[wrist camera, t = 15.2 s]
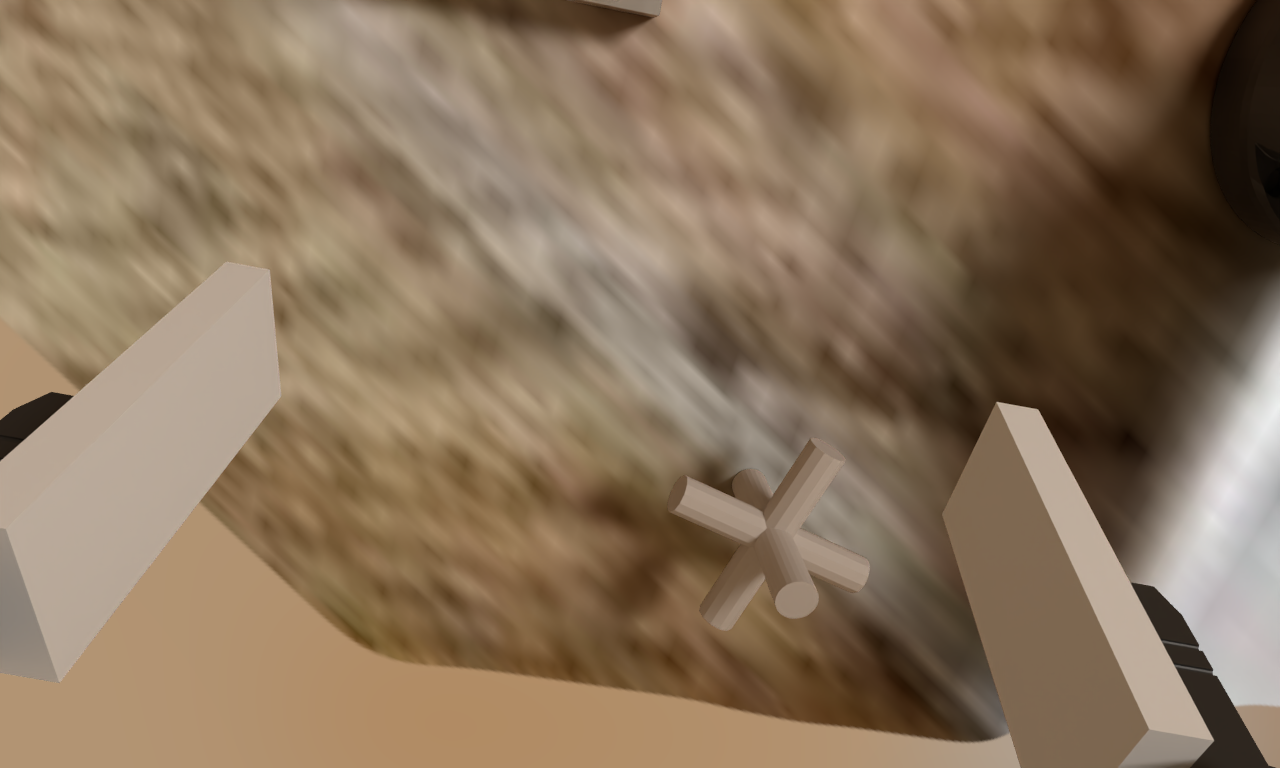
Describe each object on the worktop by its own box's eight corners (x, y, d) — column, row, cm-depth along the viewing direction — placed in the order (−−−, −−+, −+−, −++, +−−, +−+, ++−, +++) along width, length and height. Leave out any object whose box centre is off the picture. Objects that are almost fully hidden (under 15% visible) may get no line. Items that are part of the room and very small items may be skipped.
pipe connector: (618, 522, 45) (632, 648, 35) (715, 362, 42) (757, 453, 32) (779, 592, 47) (831, 726, 38) (880, 445, 44) (963, 551, 35)
